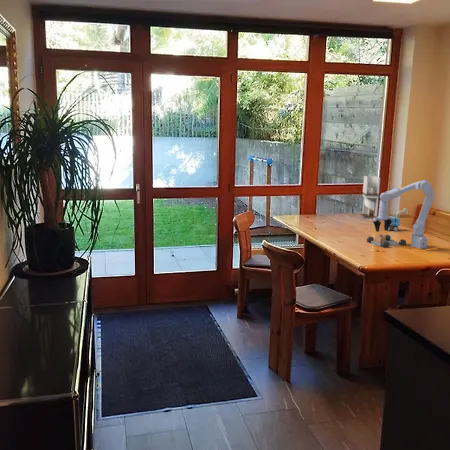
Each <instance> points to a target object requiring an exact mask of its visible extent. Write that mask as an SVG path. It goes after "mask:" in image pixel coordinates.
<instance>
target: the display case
mask: <svg viewBox="0 0 450 450" xmlns="http://www.w3.org/2000/svg"><path fill="white" fill-rule="evenodd" d="M380 186H381V177H379V176H377V175H364V176H363V186H362V195H361V196H362V197H363V201H362V213H361V214H360V217H361V218H362V219H364V220H367V219H368V220H373V218H376V217H378V210H379V208H378V207H379V199H380Z"/></svg>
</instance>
